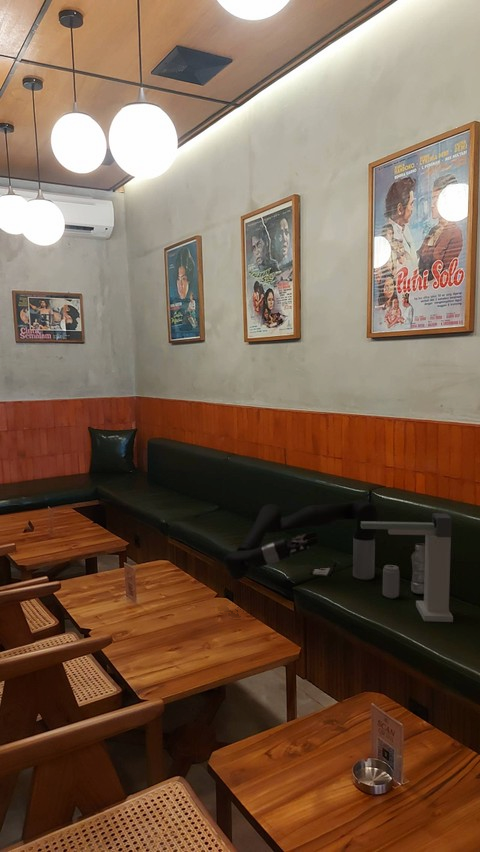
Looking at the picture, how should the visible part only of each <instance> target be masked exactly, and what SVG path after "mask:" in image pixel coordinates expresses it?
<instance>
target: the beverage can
mask: <svg viewBox="0 0 480 852" xmlns="http://www.w3.org/2000/svg"><path fill="white" fill-rule="evenodd" d="M382 596H384V597H385V598H387V599H396V598H398V597H399V596H400V569H399V566H397V565H394V564H385V565H384V566H383V569H382Z"/></svg>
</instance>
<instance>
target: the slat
mask: <svg viewBox="0 0 480 852" xmlns="http://www.w3.org/2000/svg"><path fill="white" fill-rule="evenodd" d="M361 528H362V529H377V530H388V529H404V530H434V524H433V523H432V522H427V521H426V522H424V521H423V522H422V521H421V522H420V521H419V522H418V521H377V522H372V521H361Z"/></svg>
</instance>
